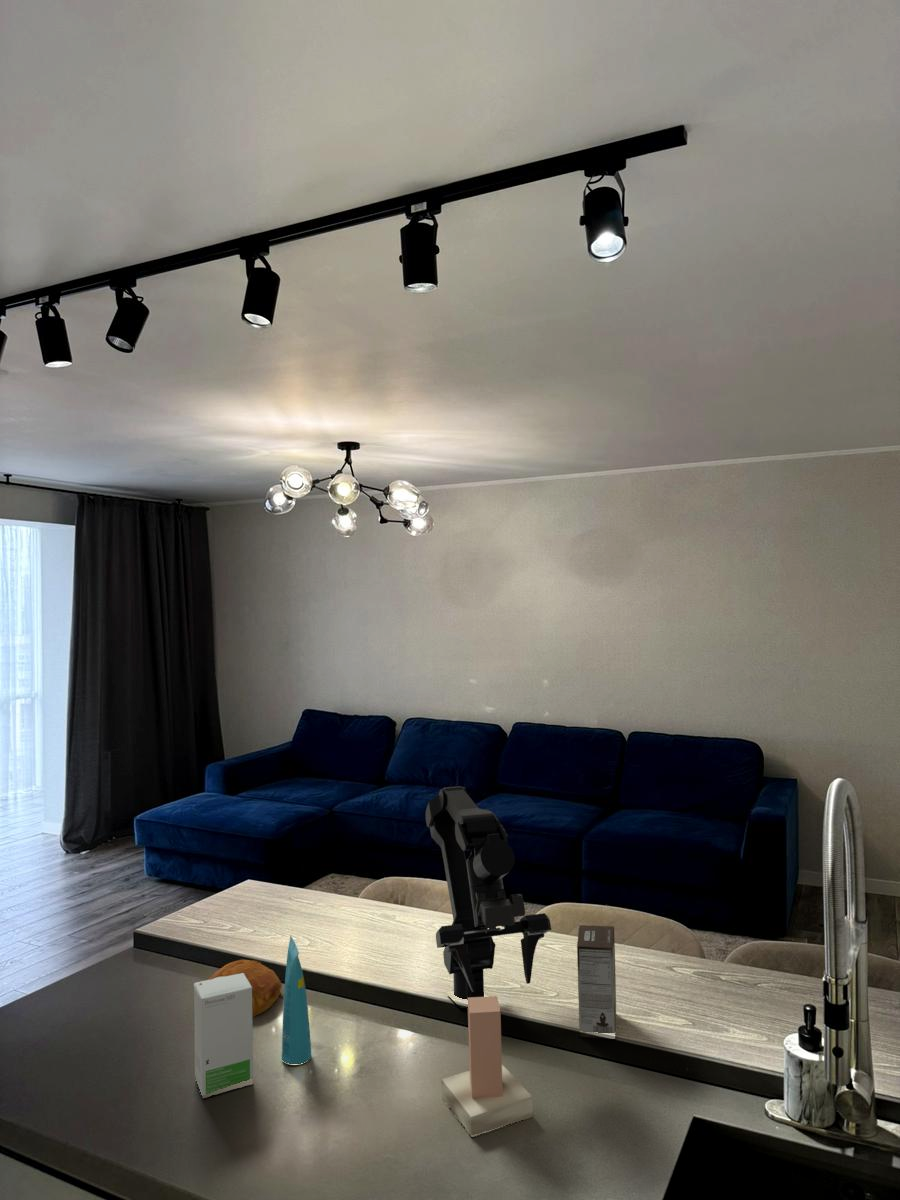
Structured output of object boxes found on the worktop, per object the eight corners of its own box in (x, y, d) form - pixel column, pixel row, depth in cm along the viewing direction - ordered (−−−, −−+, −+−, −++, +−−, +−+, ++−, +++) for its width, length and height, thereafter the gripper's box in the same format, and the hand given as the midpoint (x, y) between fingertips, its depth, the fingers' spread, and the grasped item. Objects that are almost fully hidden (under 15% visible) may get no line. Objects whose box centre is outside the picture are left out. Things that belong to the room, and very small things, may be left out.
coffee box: (580, 1011, 147) (578, 923, 147) (616, 1013, 146) (614, 925, 146) (578, 1038, 138) (576, 945, 138) (616, 1041, 137) (614, 947, 137)
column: (469, 1079, 122) (467, 997, 122) (499, 1077, 123) (497, 996, 123) (472, 1098, 118) (469, 1012, 118) (502, 1096, 118) (500, 1011, 118)
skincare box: (201, 1101, 124) (198, 1000, 124) (193, 1078, 130) (190, 982, 129) (256, 1084, 128) (253, 986, 127) (246, 1063, 133) (243, 969, 133)
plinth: (442, 1098, 123) (441, 1079, 123) (499, 1080, 127) (499, 1061, 127) (471, 1138, 114) (470, 1117, 114) (532, 1116, 118) (532, 1096, 118)
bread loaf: (187, 1026, 150) (180, 986, 149) (238, 977, 164) (233, 940, 163) (251, 1039, 144) (245, 998, 143) (299, 987, 158) (293, 949, 157)
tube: (317, 1065, 132) (313, 949, 132) (287, 1074, 130) (284, 955, 130) (304, 1043, 139) (301, 932, 139) (276, 1051, 137) (273, 938, 137)
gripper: (438, 885, 129) (451, 992, 122) (550, 872, 133) (569, 975, 126) (430, 896, 139) (442, 996, 132) (534, 884, 143) (551, 981, 135)
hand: (501, 987), depth 131 cm, fingers open, 9 cm apart
